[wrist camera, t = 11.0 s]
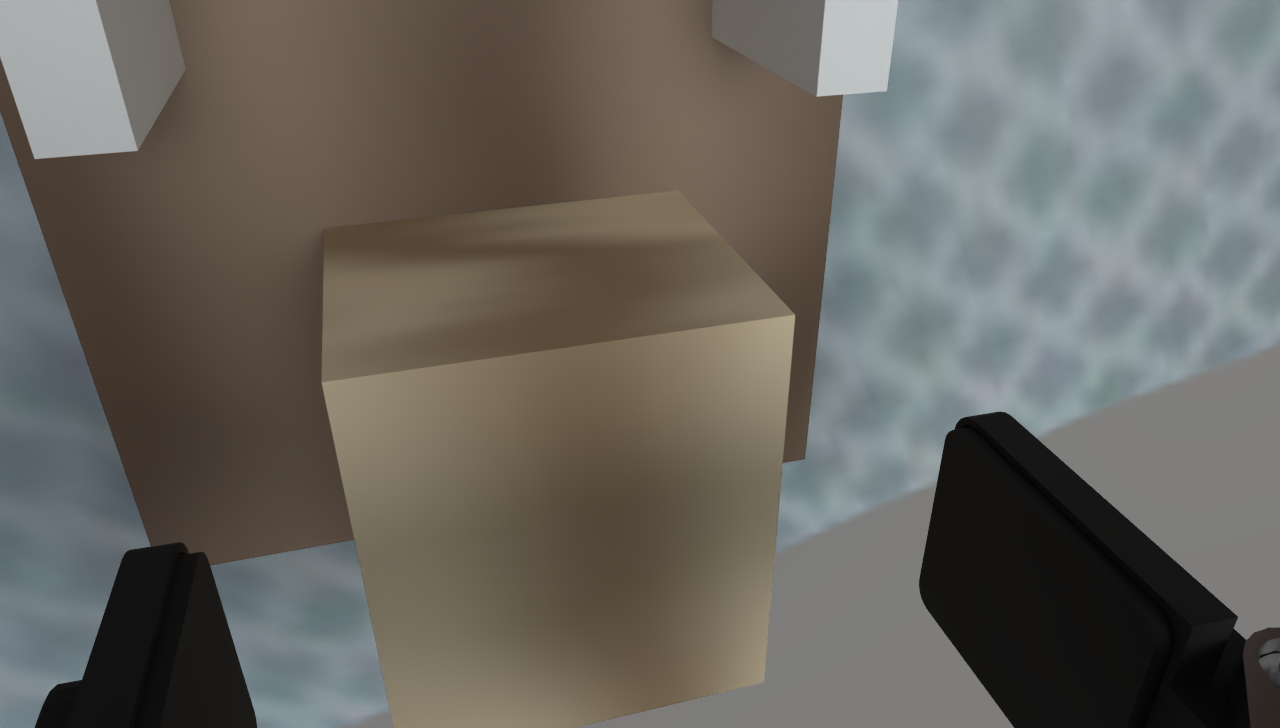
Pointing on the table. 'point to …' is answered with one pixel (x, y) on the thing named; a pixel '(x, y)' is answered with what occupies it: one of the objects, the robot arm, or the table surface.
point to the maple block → (557, 456)
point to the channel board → (381, 190)
